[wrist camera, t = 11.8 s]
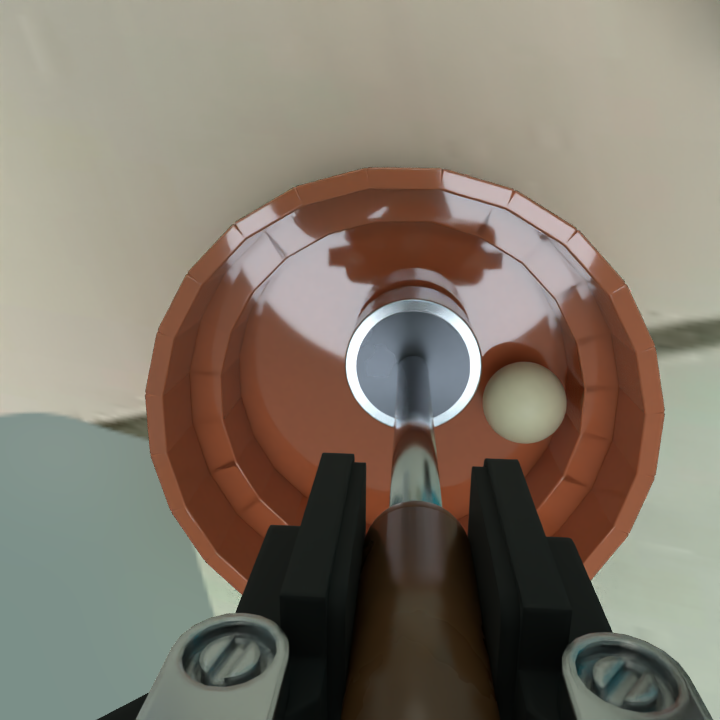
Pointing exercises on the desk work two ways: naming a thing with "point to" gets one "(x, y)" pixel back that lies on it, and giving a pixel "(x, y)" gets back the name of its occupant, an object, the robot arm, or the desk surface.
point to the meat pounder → (416, 522)
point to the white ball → (524, 402)
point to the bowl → (330, 340)
